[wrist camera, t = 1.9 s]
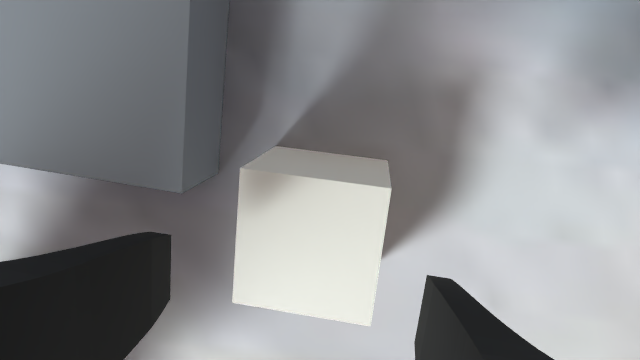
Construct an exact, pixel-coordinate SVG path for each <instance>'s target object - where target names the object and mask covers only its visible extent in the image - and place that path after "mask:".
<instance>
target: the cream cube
mask: <svg viewBox="0 0 640 360" xmlns="http://www.w3.org/2000/svg"><path fill="white" fill-rule="evenodd" d="M391 190H392V187H391V180H390V173H389V166H388V160H381V159H373V158H366V157H358V156H350V155H342V154H334V153H327V152H319V151H311V150H303V149H295V148H287V147H280V146H275V147H273V148H272V149H270V150H268V151H267V152H265V153H264V154H262V155H260V156H259V157H257V158H255V159H254V160H252V161H251V162H249V163H247V164H246V165H244V166H243V167H241V168H240V176H239V193H238V211H237V228H236V245H235V263H234V280H233V297H232V303H237V304H243V305H248V306H254V307H260V308H266V309H272V310H278V311H283V312H289V313H295V314H301V315H307V316H313V317H318V318H324V319H330V320H336V321H342V322H348V323H353V324H359V325H365V326H371V320H372V314H373V307H374V301H375V294H376V288H377V281H378V275H379V268H380V261H381V255H382V248H383V242H384V235H385V229H386V222H387V216H388V209H389V203H390V196H391Z"/></svg>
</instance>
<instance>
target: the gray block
mask: <svg viewBox="0 0 640 360" xmlns="http://www.w3.org/2000/svg"><path fill="white" fill-rule="evenodd" d="M228 15H229V0H0V164H6V165H12V166H18V167H24V168H30V169H36V170H42V171H48V172H54V173H61V174H67V175H73V176H79V177H85V178H91V179H97V180H103V181H109V182H115V183H121V184H127V185H133V186H139V187H145V188H151V189H157V190H163V191H169V192H176V193H183V192H185V191H187V190H189V189H191V188H192V187H194V186H196V185H198V184H200V183H201V182H203V181H205V180H207V179H209V178H210V177H212V176H214V175H216V174H218V169H219V154H220V138H221V123H222V108H223V92H224V77H225V61H226V46H227V31H228Z"/></svg>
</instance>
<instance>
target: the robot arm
mask: <svg viewBox="0 0 640 360" xmlns="http://www.w3.org/2000/svg"><path fill="white" fill-rule="evenodd" d="M170 271H171V235H168V234H161V233H155V232H144V233H137V234H132V235H127V236H122V237H118V238H113V239H109V240H105V241H101V242H97V243H93V244H88V245H84V246H80V247H76V248H71V249H66V250H62V251H57V252H52V253H48V254H43V255H39V256H33V257H28V258H22V259H16V260H10V261H3V262H0V360H123V359H124V358H125V357H126V356H127V355H128V354H129V353H130V352H131V351H132V349H133V348H134V347H135V346H136V345H137V344H138V343H139V341H140V340H141V339H142V338H143V337H144V336H145V335H146V333H147V332H148V331H149V330H150V329H151V328H152V326H153V325H154V323H155V322H156V320H157V319H158V317H159V316H160V315H161V313H162V311H163V310H164V308H165V307H166V305H167V303H168V302H169V300H170ZM415 360H554V359H552V358H551V357H549V356H548V355H546V354H545V353H543V352H542V351H540V350H538V349H537V348H536V347H534V346H533V345H531V344H530V343H529V342H527V341H526V340H524V339H523V338H522V337H520V336H519V335H518V334H517V333H515V332H514V331H513V330H511V329H510V328H509V327H507V326H506V325H505V324H504V323H502V322H501V321H500V320H499V319H497V318H496V317H495V316H494V315H493V314H491V313H490V312H489V311H488V310H487V309H486V308H484V307H483V306H482V305H481V304H480V303H479V302H478V301H476V300H475V299H474V298H473V297H472V296H471V295H470V294H469V293H467V292H466V291H465V290H464V289H463V288H462V287H461V286H459V285H458V284H457V283H456V282H454V281H453V280H452V279H448V278H442V277H436V276H429V275H427V278H426V283H425V289H424V294H423V300H422V305H421V310H420V316H419V321H418V327H417V332H416V338H415Z"/></svg>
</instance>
